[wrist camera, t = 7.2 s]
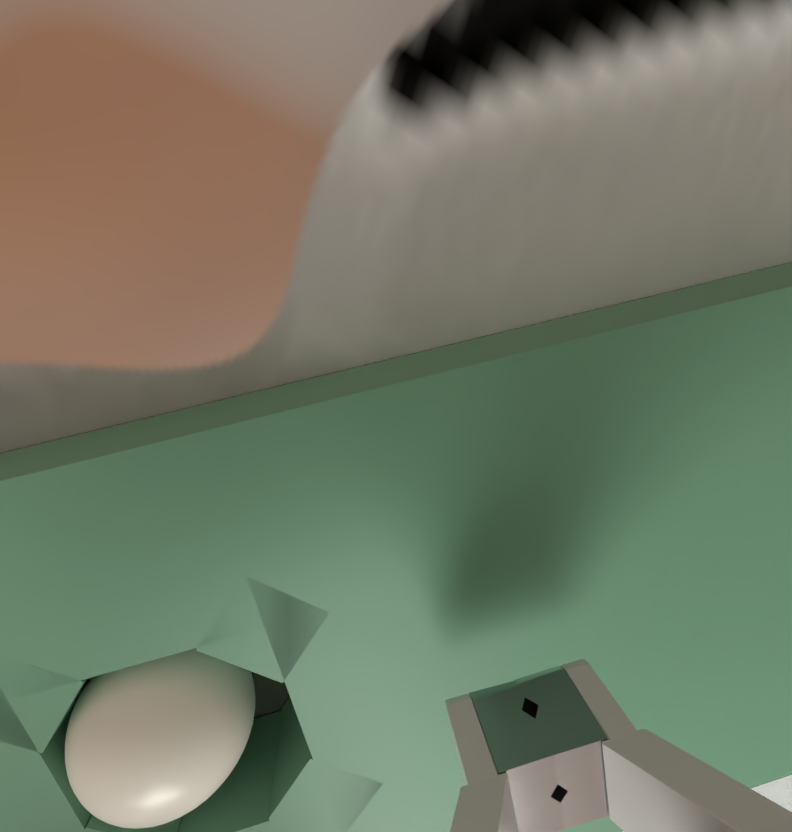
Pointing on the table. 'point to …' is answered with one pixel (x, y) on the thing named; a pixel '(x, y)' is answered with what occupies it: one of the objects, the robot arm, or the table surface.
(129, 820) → the ball
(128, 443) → the putting deck
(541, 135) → the table surface
